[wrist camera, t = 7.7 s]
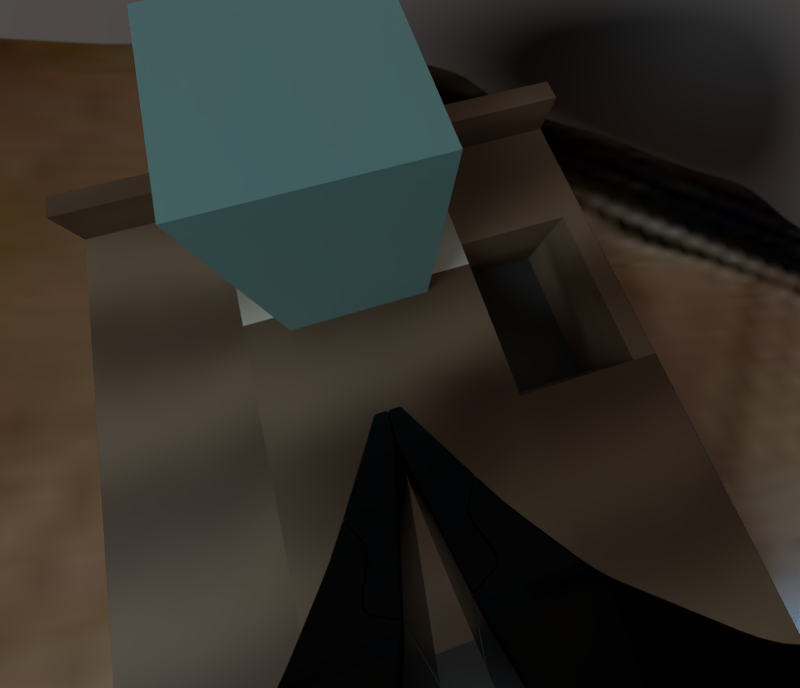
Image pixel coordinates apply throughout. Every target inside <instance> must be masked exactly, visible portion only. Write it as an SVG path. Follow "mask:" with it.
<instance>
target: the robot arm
mask: <svg viewBox="0 0 800 688" xmlns="http://www.w3.org/2000/svg"><path fill="white" fill-rule="evenodd" d="M406 474H407V475H406ZM407 477H408V479H407ZM408 481H409V483H410V486H411V489H412V491H413V494H414V496H415V498H416V501H417V503H418V505H419V508H420V510H421V513H422V515H423V517H424V520H425V522H426V525H427V527H428V529H429V532H430V534H431V537H432V539H433V541H434V544H435V546H436V548H437V551H438V553H439V556H440V558H441V560H442V563H443V565H444V568H445V570H446V572H447V575H448V577H449V580H450V582H451V584H452V587H453V589H454V592H455V594H456V596H457V599H458V601H459V603H460V606H461V608H462V611H463V613H464V615H465V618H466V620H467V623H468V625H469V627H470V630H471V632H472V635H473V637H474V639H475V642H476V644H477V647H478V649H479V651H480V654H481V656H482V658H483V661H484V663H485V665H486V667H487V670H488V673H489V675H490V678H491V680H492V682H493V685H494V687H495V688H800V644H787V643H780V642H776V641H772V640H767V639H763V638H760V637H757V636H754V635H751V634H749V633H746V632H743V631H740V630H738V629H735V628H733V627H731V626H728V625H726V624H723V623H721V622H718V621H716V620H713V619H711V618H709V617H706V616H704V615H701V614H699V613H696V612H694V611H692V610H689V609H687V608H684V607H682V606H679V605H677V604H675V603H672V602H670V601H667V600H665V599H662V598H660V597H657V596H655V595H653V594H650V593H648V592H645V591H643V590H640V589H638V588H636V587H633V586H631V585H628V584H626V583H623V582H621V581H619V580H616V579H614V578H612V577H610V576H608V575H606V574H604V573H603V572H601V571H599V570H597V569H596V568H594V567H592V566H591V565H589V564H588V563H586V562H585V561H583V560H582V559H580V558H579V557H578V556H576V555H575V554H573V553H572V552H571V551H569V550H568V549H567V548H565V547H564V546H563V545H561V544H560V543H559V542H557V541H556V540H555V539H553V538H552V537H551V536H549V535H548V534H546V533H545V532H544V531H542V530H541V529H540V528H538V527H537V526H536V525H534V524H533V523H532V522H530V521H529V520H528V519H526V518H525V517H524V516H522V515H521V514H520V513H518V512H517V511H516V510H515V509H513V508H512V507H511V506H509V505H508V504H507V503H506V502H504V501H503V500H502V499H501V498H500V497H499V496H497V495H496V494H495V493H494V492H493V491H492V490H491V489H489V488H488V487H487V486H486V485H485V484H484V483H483V482H482V481H481V480H480V479H479V478H477V477H475V476H474V474H473V473H472V472H471V471H470V470H469V469H468V468H467V467H466V466H464V465H463V464H462V463H461V462H460V461H459V460H458V459H457V458H456V457H455V456H454V455H453V454H452V453H451V452H449V451H448V450H447V449H446V448H445V447H444V446H443V445H442V444H441V443H440V442H439V441H438V440H437V439H436V438H434V437H433V436H432V435H431V434H430V433H429V432H428V431H427V430H426V429H425V428H424V427H423V426H422V425H421V424H419V423H418V422H417V421H416V420H415V419H414V418H413V417H412V416H411V415H410V414H409V413H408V412H407V411H406V410H405V409H403V408H402V407H400V406H399V407H396V408H393V409H390V410H389V411H383V412H380V413H377V414H375V415H374V417H373V421H372V424H371V427H370V431H369V434H368V437H367V441H366V444H365V447H364V450H363V454H362V457H361V460H360V464H359V467H358V470H357V474H356V477H355V480H354V484H353V487H352V490H351V494H350V497H349V500H348V504H347V507H346V510H345V514H344V517H343V521H344V522H342V523H341V526H340V530H339V533H338V536H337V540H336V543H335V546H334V549H333V552H332V555H331V558H330V561H329V563H328V566H327V569H326V571H325V574H324V576H323V579H322V582H321V584H320V587H319V589H318V592H317V594H316V597H315V599H314V601H313V604H312V606H311V609H310V611H309V614H308V616H307V618H306V621H305V623H304V626H303V628H302V631H301V633H300V635H299V638H298V640H297V643H296V645H295V648H294V650H293V652H292V655H291V657H290V660H289V662H288V664H287V667H286V669H285V671H284V674H283V676H282V678H281V680H280V682H279V684H278V686H277V688H440V686H439V684H440V682H439V676H438V669H437V663H436V657H435V650H434V644H433V637H432V631H431V624H430V618H429V611H428V605H427V598H426V592H425V586H424V579H423V573H422V566H421V560H420V553H419V547H418V540H417V534H416V528H415V521H414V515H413V508H412V502H411V495H410V489H409V484H408Z"/></svg>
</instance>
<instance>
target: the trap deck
mask: <svg viewBox="0 0 800 688" xmlns="http://www.w3.org/2000/svg"><path fill="white" fill-rule="evenodd" d="M555 98H556V97H555V95H554V93H553V91H552V90H551V88H550V86H549V84H548V82H543V83H538V84H534V85H530V86H525V87H521V88H517V89H512V90H508V91H504V92H499V93H495V94H491V95H486V96H482V97H478V98H473V99H469V100H464V101H460V102H456V103H451V104H447V105H444V107H445V109H446V112H447V114H448V116H449V119H450V121H451V123H452V125H453V128H454V130H455V132H456V135H457V137H458V139H459V142H460V144H461V146H462V149H463V150H462V154H461V158H460V163H459V167H458V171H457V175H456V179H455V183H454V187H453V191H452V195H451V199H450V203H449V207H448V211H447V215H446V219H445V223H444V227H443V231H442V235H441V239H440V243H439V247H438V251H437V255H436V259H435V263H434V268H433V272H432V276H431V280H430V284H429V288H428V292H425V293H421V294H418V295H414V296H411V297H407V298H404V299H400V300H397V301H393V302H390V303H386V304H382V305H379V306H375V307H372V308H368V309H365V310H361V311H358V312H354V313H351V314H347V315H344V316H340V317H337V318H333V319H329V320H326V321H322V322H319V323H315V324H312V325H308V326H305V327H301V328H298V329H294V330H291V331H290V330H289V329H288V328H286V327H285V326H284V325H283V324H281V323H280V322H279V321H277V320H276V319H275V318H274V317H272V316H271V315H270V314H269V313H267V312H266V311H265V310H263V309H262V308H261V307H260V306H258V305H257V304H256V303H255V302H253V301H252V300H251V299H250V298H248V297H247V296H246V295H244V294H243V293H242V292H241V291H239V290H238V289H237V288H236V287H234V286H233V285H232V284H230V283H229V282H228V281H227V280H225V279H224V278H223V277H222V276H220V275H219V274H218V273H217V272H215V271H214V270H213V269H211V268H210V267H209V266H208V265H206V264H205V263H204V262H203V261H201V260H200V259H199V258H197V257H196V256H195V255H194V254H192V253H191V252H190V251H189V250H187V249H186V248H185V247H183V246H182V245H181V244H180V243H178V242H177V241H176V240H175V239H173V238H172V237H171V236H170V235H168V234H167V233H166V232H164V231H163V230H162V229H161V228H159V227H158V226H157V225H156V222H155V214H154V207H153V199H152V191H151V184H150V176H149V173H147V174H143V175H139V176H134V177H130V178H126V179H121V180H117V181H113V182H108V183H104V184H99V185H95V186H91V187H86V188H82V189H78V190H73V191H69V192H65V193H60V194H56V195H52V196H47V197H46V218H48V219H50V220H51V221H53V222H55V223H57V224H58V225H60V226H62V227H64V228H66V229H67V230H69V231H71V232H73V233H75V234H76V235H78V236H80V237H82V238H83V239H85V242H86V258H87V274H88V289H89V305H90V321H91V337H92V353H93V368H94V384H95V400H96V416H97V431H98V447H99V463H100V479H101V494H102V510H103V526H104V542H105V557H106V573H107V589H108V605H109V620H110V636H111V652H112V668H113V684H114V688H277V686H278V684H279V682H280V680H281V678H282V676H283V674H284V671H285V669H286V667H287V664H288V662H289V660H290V657H291V655H292V652H293V650H294V648H295V645H296V643H297V640H298V638H299V635H300V633H301V631H302V628H303V626H304V623H305V621H306V618H307V616H308V614H309V611H310V609H311V606H312V604H313V601H314V599H315V597H316V594H317V592H318V589H319V587H320V584H321V582H322V579H323V576H324V574H325V571H326V569H327V566H328V563H329V561H330V558H331V555H332V552H333V549H334V546H335V543H336V540H337V536H338V533H339V530H340V526H341V523H342V522H344V521H343V517H344V514H345V510H346V507H347V504H348V500H349V497H350V494H351V490H352V487H353V484H354V480H355V477H356V474H357V470H358V467H359V464H360V460H361V457H362V454H363V450H364V447H365V444H366V441H367V437H368V434H369V431H370V427H371V424H372V421H373V417H374V415H375V414H377V413H380V412H383V411H389V410H390V409H393V408H396V407H399V406H400V407H402V408H403V409H405V410H406V411H407V412H408V413H409V414H410V415H411V416H412V417H413V418H414V419H415V420H416V421H417V422H418V423H419V424H421V425H422V426H423V427H424V428H425V429H426V430H427V431H428V432H429V433H430V434H431V435H432V436H433V437H434V438H436V439H437V440H438V441H439V442H440V443H441V444H442V445H443V446H444V447H445V448H446V449H447V450H448V451H449V452H451V453H452V454H453V455H454V456H455V457H456V458H457V459H458V460H459V461H460V462H461V463H462V464H463V465H464V466H466V467H467V468H468V469H469V470H470V471H471V472H472V473H473V474H474V476H475V477H477V478H479V479H480V480H481V481H482V482H483V483H484V484H485V485H486V486H487V487H488V488H489V489H491V490H492V491H493V492H494V493H495V494H496V495H497V496H499V497H500V498H501V499H502V500H503V501H504V502H506V503H507V504H508V505H509V506H511V507H512V508H513V509H515V510H516V511H517V512H518V513H520V514H521V515H522V516H524V517H525V518H526V519H528V520H529V521H530V522H532V523H533V524H534V525H536V526H537V527H538V528H540V529H541V530H542V531H544V532H545V533H546V534H548V535H549V536H551V537H552V538H553V539H555V540H556V541H557V542H559V543H560V544H561V545H563V546H564V547H565V548H567V549H568V550H569V551H571V552H572V553H573V554H575V555H576V556H578V557H579V558H580V559H582V560H583V561H585V562H586V563H588V564H589V565H591V566H592V567H594V568H596V569H597V570H599V571H601V572H603V573H604V574H606V575H608V576H610V577H612V578H614V579H616V580H619V581H621V582H623V583H626V584H628V585H631V586H633V587H636V588H638V589H640V590H643V591H645V592H648V593H650V594H653V595H655V596H657V597H660V598H662V599H665V600H667V601H670V602H672V603H675V604H677V605H679V606H682V607H684V608H687V609H689V610H692V611H694V612H696V613H699V614H701V615H704V616H706V617H709V618H711V619H713V620H716V621H718V622H721V623H723V624H726V625H728V626H731V627H733V628H735V629H738V630H740V631H743V632H746V633H749V634H751V635H754V636H757V637H760V638H763V639H767V640H772V641H776V642H780V643H787V644H800V634H799V632H798V630H797V628H796V626H795V624H794V622H793V621H792V619H791V617H790V615H789V613H788V611H787V609H786V607H785V605H784V603H783V601H782V599H781V597H780V595H779V593H778V591H777V589H776V587H775V585H774V584H773V582H772V580H771V578H770V576H769V574H768V572H767V570H766V568H765V566H764V564H763V562H762V560H761V558H760V556H759V554H758V552H757V550H756V548H755V546H754V545H753V543H752V541H751V539H750V537H749V535H748V533H747V531H746V529H745V527H744V525H743V523H742V521H741V519H740V517H739V515H738V513H737V511H736V509H735V508H734V506H733V504H732V502H731V500H730V498H729V496H728V494H727V492H726V490H725V488H724V486H723V484H722V482H721V480H720V478H719V476H718V474H717V472H716V470H715V469H714V467H713V465H712V463H711V461H710V459H709V457H708V455H707V453H706V451H705V449H704V447H703V445H702V443H701V441H700V439H699V437H698V435H697V433H696V432H695V430H694V428H693V426H692V424H691V422H690V420H689V418H688V416H687V414H686V412H685V410H684V408H683V406H682V404H681V402H680V400H679V398H678V396H677V394H676V393H675V391H674V389H673V387H672V385H671V383H670V381H669V379H668V377H667V375H666V373H665V371H664V369H663V367H662V365H661V363H660V361H659V359H658V357H657V356H656V354H655V352H654V350H653V348H652V346H651V344H650V342H649V340H648V338H647V336H646V334H645V332H644V330H643V328H642V326H641V324H640V322H639V320H638V319H637V317H636V315H635V313H634V311H633V309H632V307H631V305H630V303H629V301H628V299H627V297H626V295H625V293H624V291H623V289H622V287H621V285H620V283H619V281H618V280H617V278H616V276H615V274H614V272H613V270H612V268H611V266H610V264H609V262H608V260H607V258H606V256H605V254H604V252H603V250H602V248H601V246H600V244H599V243H598V241H597V239H596V237H595V235H594V233H593V231H592V229H591V227H590V225H589V223H588V221H587V219H586V217H585V215H584V213H583V211H582V209H581V207H580V205H579V204H578V202H577V200H576V198H575V196H574V194H573V192H572V190H571V188H570V186H569V184H568V182H567V180H566V178H565V176H564V174H563V172H562V170H561V168H560V167H559V165H558V163H557V161H556V159H555V157H554V155H553V153H552V151H551V149H550V147H549V145H548V143H547V141H546V139H545V137H544V135H543V133H542V131H541V129H540V128H541V126H542V124H543V122H544V120H545V118H546V116H547V114H548V112H549V110H550V108H551V106H552V104H553V102H554V100H555ZM406 475H407V474H406ZM407 479H408V477H407ZM408 484H409V489H410V495H411V502H412V508H413V515H414V521H415V528H416V534H417V540H418V547H419V553H420V560H421V566H422V573H423V579H424V586H425V592H426V598H427V605H428V611H429V618H430V624H431V631H432V637H433V644H434V650H435V657H436V663H437V669H438V676H439V682H440V684H439V686H440V688H495V687H494V685H493V682H492V680H491V678H490V675H489V673H488V670H487V667H486V665H485V663H484V661H483V658H482V656H481V654H480V651H479V649H478V647H477V644H476V642H475V639H474V637H473V635H472V632H471V630H470V627H469V625H468V623H467V620H466V618H465V615H464V613H463V611H462V608H461V606H460V603H459V601H458V599H457V596H456V594H455V592H454V589H453V587H452V584H451V582H450V580H449V577H448V575H447V572H446V570H445V568H444V565H443V563H442V560H441V558H440V556H439V553H438V551H437V548H436V546H435V544H434V541H433V539H432V537H431V534H430V532H429V529H428V527H427V525H426V522H425V520H424V517H423V515H422V513H421V510H420V508H419V505H418V503H417V501H416V498H415V496H414V494H413V491H412V489H411V486H410V483H409V481H408Z"/></svg>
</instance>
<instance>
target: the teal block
mask: <svg viewBox="0 0 800 688" xmlns="http://www.w3.org/2000/svg"><path fill="white" fill-rule="evenodd" d="M127 7H128V15H129V23H130V30H131V38H132V46H133V53H134V61H135V69H136V76H137V84H138V92H139V99H140V107H141V115H142V122H143V130H144V138H145V145H146V153H147V161H148V168H149V176H150V184H151V191H152V199H153V207H154V214H155V222H156V225H157V226H158V227H159V228H161V229H162V230H163V231H164V232H166V233H167V234H168V235H170V236H171V237H172V238H173V239H175V240H176V241H177V242H178V243H180V244H181V245H182V246H183V247H185V248H186V249H187V250H189V251H190V252H191V253H192V254H194V255H195V256H196V257H197V258H199V259H200V260H201V261H203V262H204V263H205V264H206V265H208V266H209V267H210V268H211V269H213V270H214V271H215V272H217V273H218V274H219V275H220V276H222V277H223V278H224V279H225V280H227V281H228V282H229V283H230V284H232V285H233V286H234V287H236V288H237V289H238V290H239V291H241V292H242V293H243V294H244V295H246V296H247V297H248V298H250V299H251V300H252V301H253V302H255V303H256V304H257V305H258V306H260V307H261V308H262V309H263V310H265V311H266V312H267V313H269V314H270V315H271V316H272V317H274V318H275V319H276V320H277V321H279V322H280V323H281V324H283V325H284V326H285V327H286V328H288V329H289V330H290V331H291V330H294V329H298V328H301V327H305V326H308V325H312V324H315V323H319V322H322V321H326V320H329V319H333V318H337V317H340V316H344V315H347V314H351V313H354V312H358V311H361V310H365V309H368V308H372V307H375V306H379V305H382V304H386V303H390V302H393V301H397V300H400V299H404V298H407V297H411V296H414V295H418V294H421V293H425V292H428V288H429V284H430V280H431V276H432V272H433V268H434V263H435V259H436V255H437V251H438V247H439V243H440V239H441V235H442V231H443V227H444V223H445V219H446V215H447V211H448V207H449V203H450V199H451V195H452V191H453V187H454V183H455V179H456V175H457V171H458V167H459V163H460V158H461V154H462V150H463V149H462V146H461V144H460V142H459V139H458V137H457V135H456V132H455V130H454V128H453V125H452V123H451V121H450V119H449V116H448V114H447V112H446V109H445V107H444V105H443V102H442V100H441V98H440V95H439V93H438V91H437V89H436V86H435V84H434V82H433V79H432V77H431V75H430V72H429V70H428V68H427V65H426V63H425V61H424V59H423V56H422V54H421V52H420V49H419V47H418V45H417V42H416V40H415V38H414V36H413V33H412V31H411V29H410V26H409V24H408V22H407V19H406V17H405V15H404V12H403V10H402V8H401V5H400V3H399V1H398V0H146V1H141V2H136V3H130V4H127Z"/></svg>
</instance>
